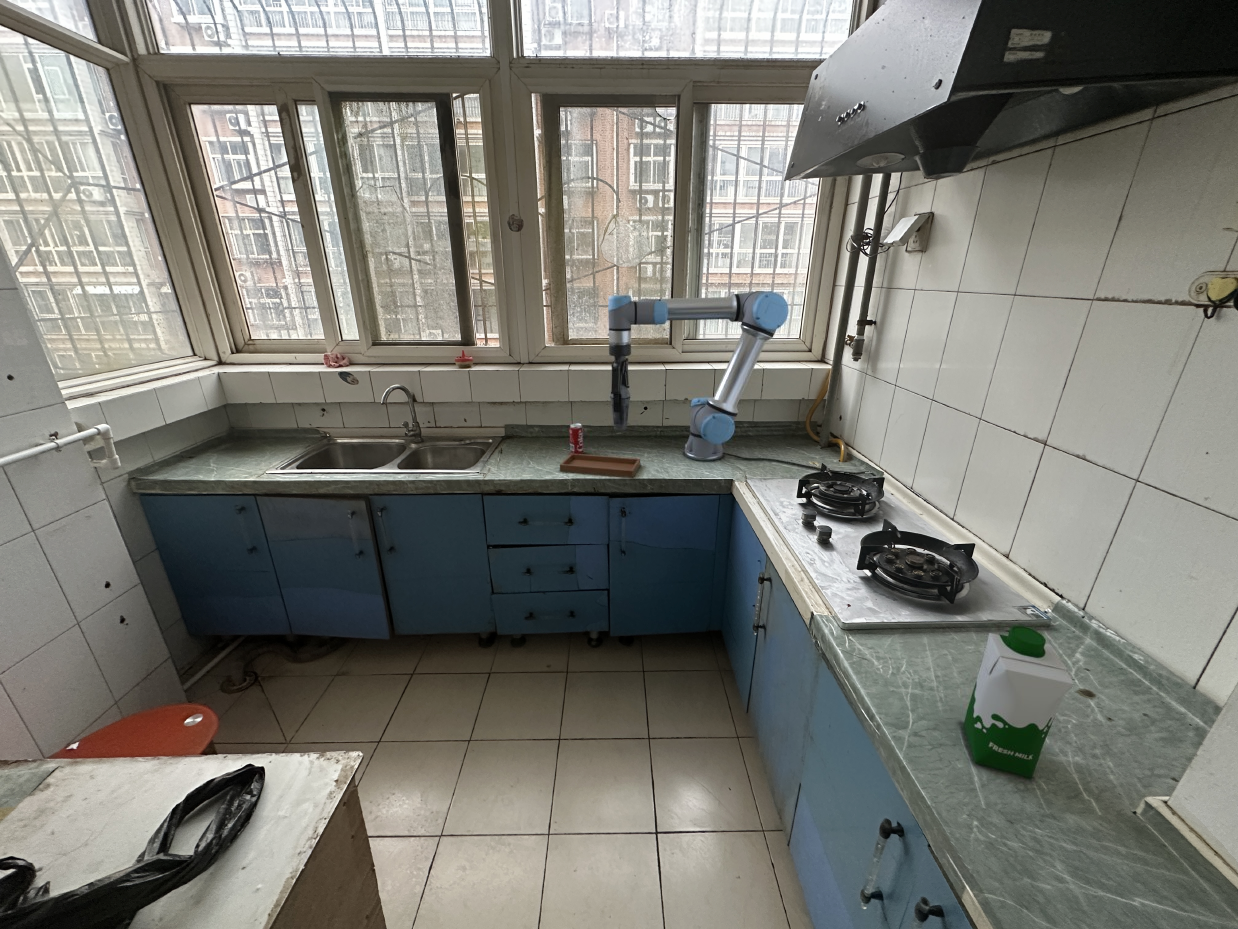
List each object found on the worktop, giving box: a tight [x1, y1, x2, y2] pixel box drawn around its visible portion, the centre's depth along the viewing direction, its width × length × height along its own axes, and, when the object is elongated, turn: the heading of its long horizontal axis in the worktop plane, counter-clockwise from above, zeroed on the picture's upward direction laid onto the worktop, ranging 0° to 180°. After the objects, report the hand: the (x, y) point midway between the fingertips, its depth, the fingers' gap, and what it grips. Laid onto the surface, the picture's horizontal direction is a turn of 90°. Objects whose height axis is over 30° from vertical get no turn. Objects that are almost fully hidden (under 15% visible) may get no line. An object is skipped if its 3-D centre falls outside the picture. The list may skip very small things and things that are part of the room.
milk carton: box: [963, 625, 1075, 779], centre depth 72 cm, size 9×9×20 cm
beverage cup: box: [609, 385, 631, 431], centre depth 175 cm, size 7×7×20 cm
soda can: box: [569, 423, 584, 454], centre depth 200 cm, size 5×5×12 cm
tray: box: [559, 452, 641, 478], centre depth 186 cm, size 28×13×3 cm, turn 75°
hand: (620, 409), depth 176 cm, fingers closed on beverage cup, 7 cm apart
